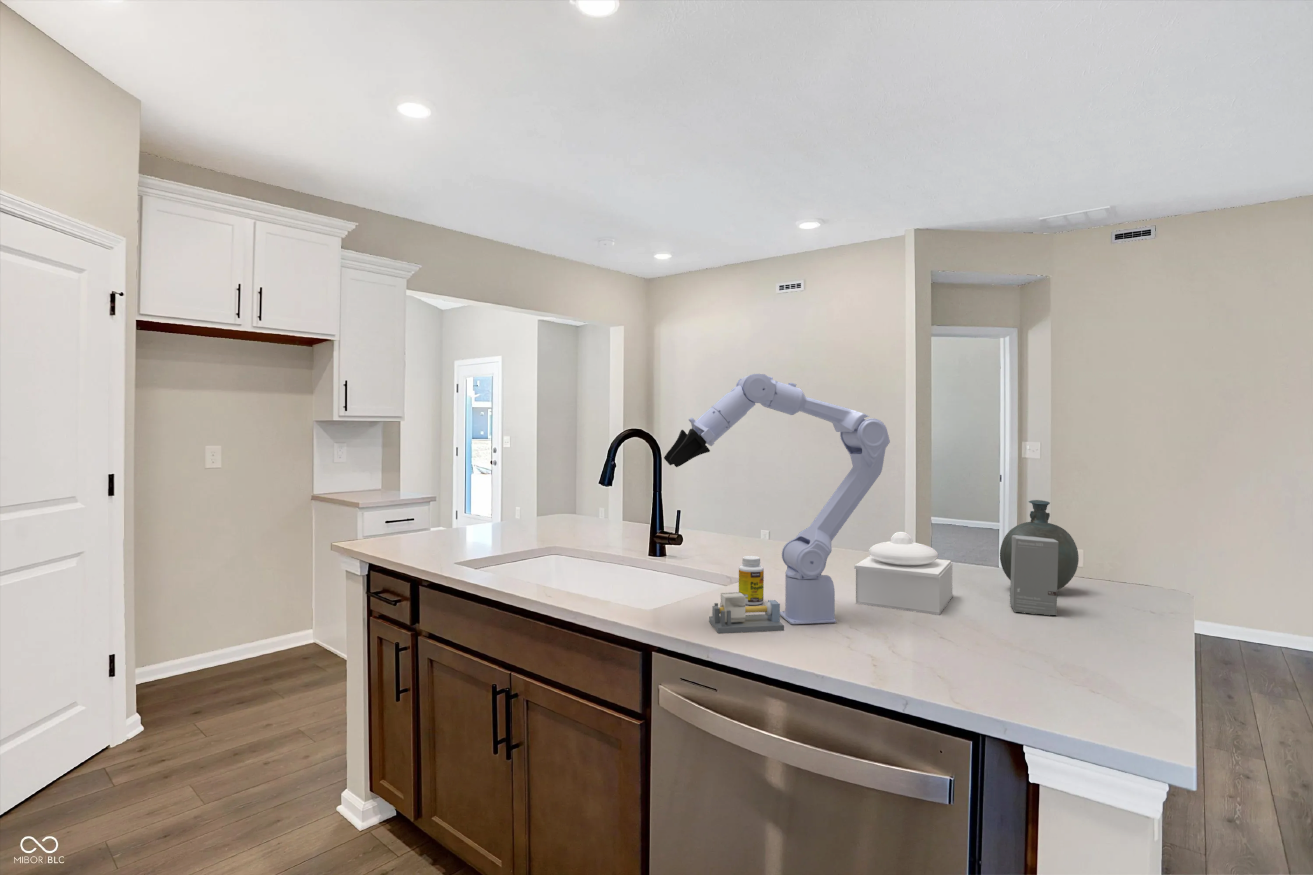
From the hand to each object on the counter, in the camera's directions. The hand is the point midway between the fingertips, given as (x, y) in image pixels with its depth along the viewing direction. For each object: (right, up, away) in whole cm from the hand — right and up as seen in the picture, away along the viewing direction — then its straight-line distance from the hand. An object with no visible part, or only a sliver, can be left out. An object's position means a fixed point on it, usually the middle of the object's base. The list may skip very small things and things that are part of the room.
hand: (669, 462), depth 130 cm
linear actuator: (+15, -32, -1) cm, 36 cm away
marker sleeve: (+12, -31, -1) cm, 33 cm away
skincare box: (+78, -32, +10) cm, 85 cm away
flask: (+89, -32, +27) cm, 98 cm away
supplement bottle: (+19, -32, +17) cm, 41 cm away
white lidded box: (+54, -33, +19) cm, 66 cm away
